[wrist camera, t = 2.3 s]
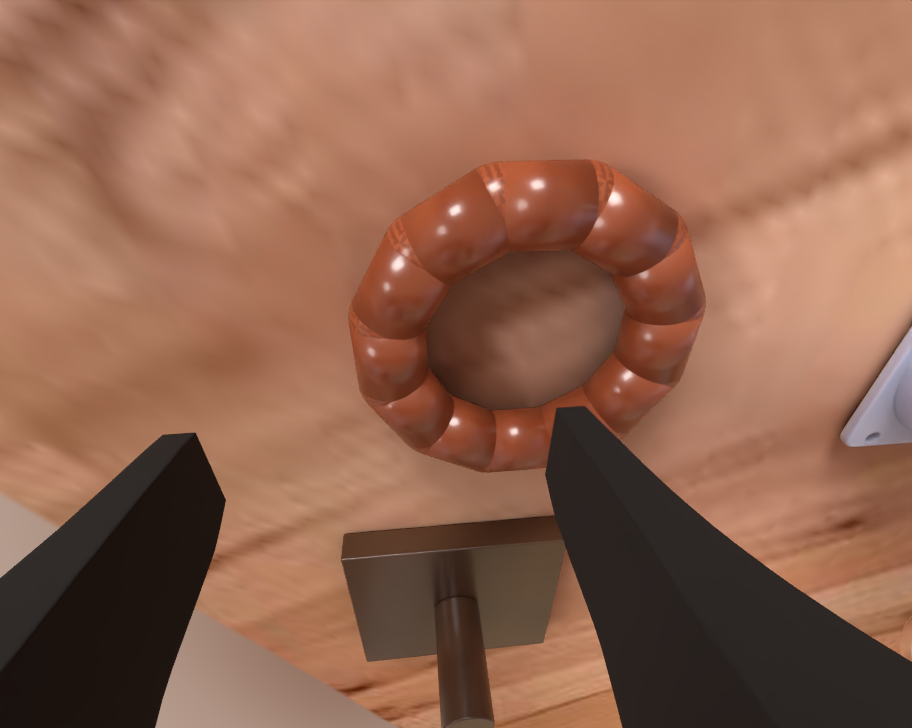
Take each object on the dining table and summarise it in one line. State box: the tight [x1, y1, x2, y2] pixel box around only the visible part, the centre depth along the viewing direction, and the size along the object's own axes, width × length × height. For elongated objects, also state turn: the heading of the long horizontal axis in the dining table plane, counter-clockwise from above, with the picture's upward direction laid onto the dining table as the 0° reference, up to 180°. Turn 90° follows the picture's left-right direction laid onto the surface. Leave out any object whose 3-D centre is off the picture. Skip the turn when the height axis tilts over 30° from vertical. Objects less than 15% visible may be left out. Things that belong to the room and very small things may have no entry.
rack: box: [341, 516, 566, 728], centre depth 20 cm, size 9×9×6 cm
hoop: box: [349, 160, 706, 473], centre depth 13 cm, size 10×10×2 cm
